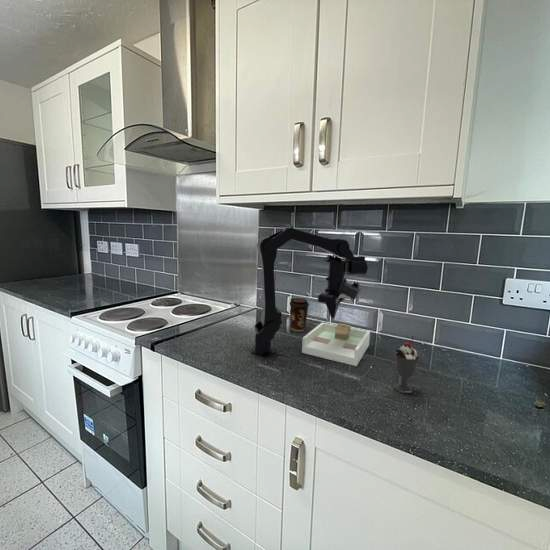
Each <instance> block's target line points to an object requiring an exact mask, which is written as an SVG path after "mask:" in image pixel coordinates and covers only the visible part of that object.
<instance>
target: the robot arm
mask: <svg viewBox="0 0 550 550" xmlns="http://www.w3.org/2000/svg"><path fill="white" fill-rule="evenodd" d="M291 240H292V241H295V242H299V243H303V244H306V245H310V246H312V247H313V246H314V247H316V248H319V249H321V250H323V251H325V252H327V253H329V254H327V256H326V257H325V258H323V262H326V263H328V272H327V273H328V274H327V277H325V281H327V285H326V286H327V287H326V288H325V290H324V292H321V293H320V294H318V295H317V303H324V304H325V306H326V308H327V311H328V313H329V315H330V317H331V319H335V318H336V316H337V315H336V314H337V312H338V309H339V306H340V304H341V303H342V302H343V301H344V300H345V299H346V298H344V297H342V295H345V296H346V297H349V298H351V299H352V300H356V299H358V296H359V294H360V292H361V291H362V290H361V288H360V283H358V282H354V283H348V282H347V281H348V280H347V277H345V275H346V274H347V276H365V275H366V274H367V272H368V270H369V269H368V263H367V260H366V256H363V255H358V256H354V254H353V252H352V250H351V249H350V244H349V242H348V241H347V240H346V239H341V238H332V237H324V236H320V235H317V234H314V233H310V232H307V231H303V230H301V229H296V228H294V227H292V226H285V227H284V228H282V229H280V230H279V231H277V232H275V233H273V234H271V235H269V236H268V237H267V236H263V237H260V238H259V239H258V241H257V243H256V248H257V253H258V257H259V260H260V263H261V280H262V281H261V283H262V303H263V304H262V308H261V312H260V313H261V315H260V320H258V322H257V323H256V324H254V325H253V328H254V330H255V332H256V334H255V340H254V349H253V350H251V351H250V353H251V354H254V355H257V356H261V357H263V358H268V357H269V356H271V355H272V354H273V353H275V352H276V350H277V349H275V348H273V339H274V338H275V336H276V333H277V332H278V331H279V330H280V328H281V325H283V323H282V311H281V310H280V308H279V307H277V306H276V286H275V285H276V284H275V281H276V280H275V263H276V259H277V256H278V255H277V253H278V249H280V248H281V247H283V246H284V245H285V244H286V243H288V242H289V241H291ZM330 254H331V255H330ZM332 255H333V256H334V257H333V256H332ZM341 258H342V259H341ZM343 259H344V260H343Z"/></svg>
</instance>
